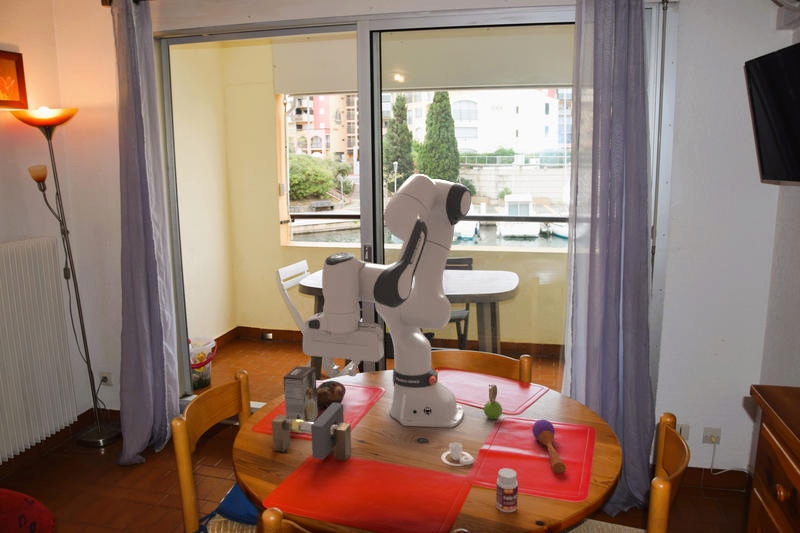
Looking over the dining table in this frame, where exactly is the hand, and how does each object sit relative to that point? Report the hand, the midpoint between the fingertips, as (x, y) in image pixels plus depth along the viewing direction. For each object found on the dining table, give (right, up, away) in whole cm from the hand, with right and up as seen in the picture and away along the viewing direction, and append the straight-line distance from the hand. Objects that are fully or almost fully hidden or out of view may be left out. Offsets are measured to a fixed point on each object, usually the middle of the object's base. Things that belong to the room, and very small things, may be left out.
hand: (343, 374), depth 144 cm
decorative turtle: (-8, -18, +42) cm, 46 cm away
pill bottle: (+38, -28, -12) cm, 49 cm away
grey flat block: (-5, -21, +11) cm, 24 cm away
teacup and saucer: (+28, -25, +6) cm, 38 cm away
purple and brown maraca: (+53, -23, +11) cm, 59 cm away
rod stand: (-10, -23, +13) cm, 28 cm away
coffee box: (-15, -20, +30) cm, 39 cm away
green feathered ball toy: (+41, -19, +31) cm, 55 cm away
